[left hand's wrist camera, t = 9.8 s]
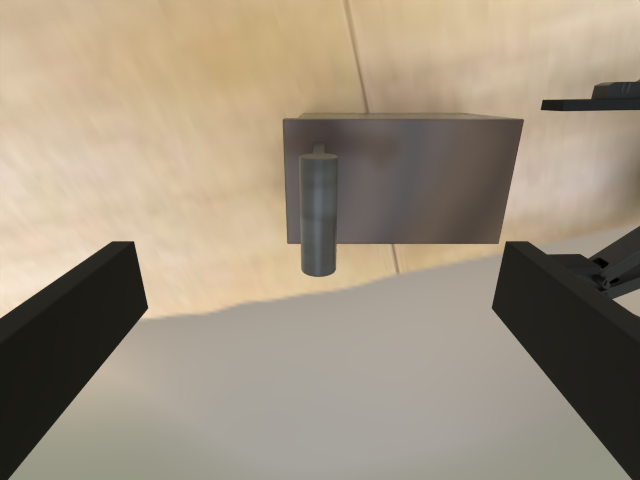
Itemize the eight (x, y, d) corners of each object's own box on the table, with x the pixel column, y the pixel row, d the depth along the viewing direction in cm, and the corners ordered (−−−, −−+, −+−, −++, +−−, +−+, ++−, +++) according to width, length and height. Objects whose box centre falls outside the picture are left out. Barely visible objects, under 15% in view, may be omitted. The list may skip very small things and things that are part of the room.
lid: (288, 238, 28) (274, 299, 20) (284, 118, 25) (265, 128, 16) (492, 238, 28) (566, 299, 20) (515, 118, 25) (618, 129, 16)
